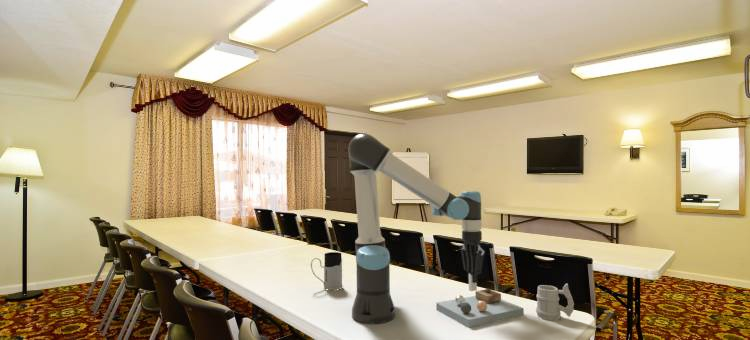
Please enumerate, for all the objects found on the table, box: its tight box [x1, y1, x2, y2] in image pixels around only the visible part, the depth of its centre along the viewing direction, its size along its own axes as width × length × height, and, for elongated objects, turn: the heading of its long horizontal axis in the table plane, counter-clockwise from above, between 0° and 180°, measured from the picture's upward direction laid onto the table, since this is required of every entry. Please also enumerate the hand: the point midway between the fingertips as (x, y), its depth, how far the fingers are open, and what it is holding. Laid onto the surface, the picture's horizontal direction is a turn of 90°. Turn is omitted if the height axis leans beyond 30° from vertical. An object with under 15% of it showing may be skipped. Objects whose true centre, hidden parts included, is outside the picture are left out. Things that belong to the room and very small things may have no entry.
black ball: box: [461, 302, 471, 314], centre depth 123 cm, size 4×4×4 cm
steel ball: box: [454, 294, 465, 306], centre depth 130 cm, size 4×4×4 cm
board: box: [435, 295, 525, 329], centre depth 130 cm, size 24×18×2 cm
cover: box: [475, 288, 502, 303], centre depth 136 cm, size 6×6×4 cm
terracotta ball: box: [477, 301, 487, 312], centre depth 124 cm, size 4×4×4 cm
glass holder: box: [310, 251, 344, 291], centre depth 160 cm, size 9×14×15 cm, turn 112°
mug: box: [535, 283, 575, 321], centre depth 125 cm, size 8×12×12 cm, turn 60°
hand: (472, 290), depth 144 cm, fingers closed
